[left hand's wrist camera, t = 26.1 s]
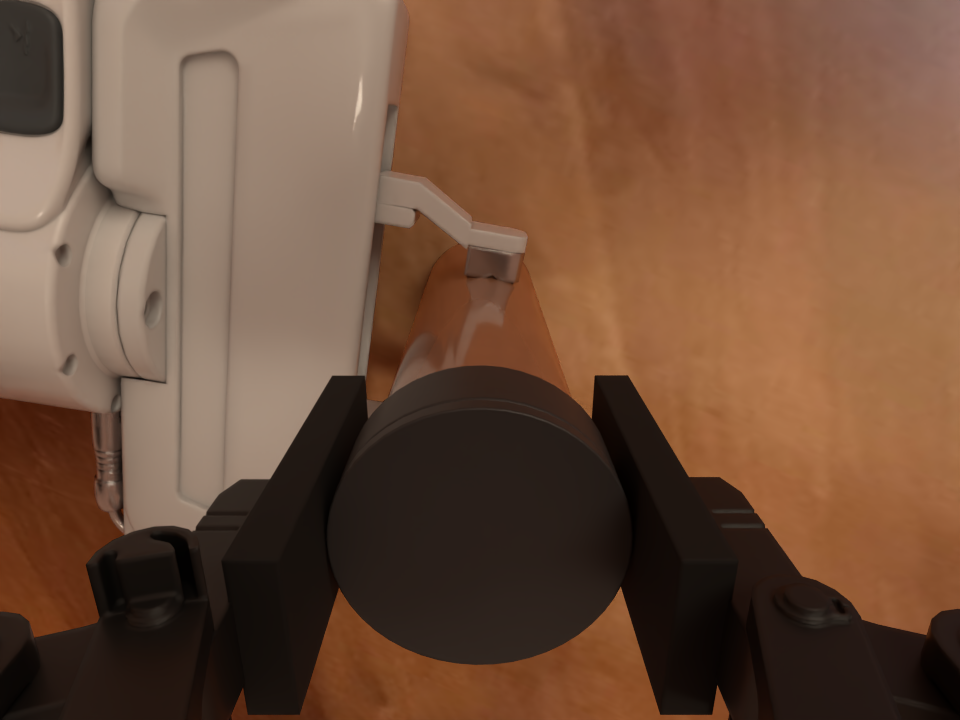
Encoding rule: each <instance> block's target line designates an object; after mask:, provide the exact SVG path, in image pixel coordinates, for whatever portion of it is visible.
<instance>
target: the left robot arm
mask: <svg viewBox="0 0 960 720" xmlns="http://www.w3.org/2000/svg"><path fill="white" fill-rule="evenodd" d="M367 420H368V410H367V395H366V381H365V376H332V377H331V378H330V380H329V382H328V383H327V385H326V387H325V388H324V390H323V392H322V393H321V395H320V397H319V398H318V400H317V402H316V403H315V405H314V407H313V408H312V410H311V412H310V413H309V415H308V417H307V418H306V420H305V422H304V423H303V425H302V427H301V428H300V430H299V432H298V433H297V435H296V437H295V438H294V440H293V442H292V443H291V445H290V447H289V448H288V450H287V452H286V453H285V455H284V457H283V458H282V460H281V462H280V463H279V465H278V467H277V468H276V470H275V472H274V473H273V475H272V477H271V478H270V479H240V480H239V481H237V482H236V483H234V484H233V485H232V486H230V487H229V488H227V489H226V490H224V491H223V492H221V493H220V494H219V495H218V496H217V498H216V499H215V500H214V502H213V503H212V505H211V506H210V507H209V509H208V510H207V512H206V516H203V517H202V519H201V520H200V521H199V523H198V524H197V526H196V530H195V531H192V532H191V531H190V530H189V529H186V528H182V527H178V526H154V527H149V528H145V529H141V530H137V531H133V532H131V533H128V534H126V535H124V536H121V537H119V538H117V539H114V540H112V541H111V542H110V543H108V544H107V545H105V546H104V547H102V548H101V549H100V550H98V551H97V552H96V553H95V554H94V555H93V556H92V558H91V559H90V560H89V561H88V563H87V564H86V568H87V571H88V575H89V579H90V583H91V587H92V590H93V594H94V598H95V602H96V605H97V609H98V613H99V617H100V618H99V620H98V622H97V623H95V624H91V625H88V626H84V627H80V628H76V629H71V630H67V631H63V632H58V633H54V634H49V635H45V636H40V637H36V638H34V636H33V632H32V629H31V626H30V623H29V621H28V620H26V619H25V618H24V617H23V616H21V615H20V614H16V613H9V612H0V720H232V718H231V714H232V712H233V709H234V707H235V705H236V702H237V700H238V697H239V695H240V693H241V690H242V688H243V689H244V695H245V701H246V707H247V712H248V715H300V712H301V709H302V705H303V702H304V699H305V696H306V692H307V689H308V686H309V683H310V679H311V676H312V673H313V670H314V666H315V663H316V660H317V657H318V653H319V650H320V647H321V644H322V640H323V637H324V634H325V631H326V628H327V624H328V621H329V618H330V615H331V611H332V608H333V605H334V602H335V598H336V595H337V592H338V589H339V586H338V584H337V581H336V579H335V577H334V575H333V571H332V568H331V565H330V561H329V557H328V550H327V543H326V536H327V520H328V515H329V509H330V506H331V503H332V500H333V497H334V494H335V491H336V489H337V486H338V484H339V482H340V479H341V476H342V474H343V471H344V469H345V466H346V464H347V461H348V459H349V456H350V454H351V451H352V448H353V446H354V443H355V441H356V439H357V437H358V435H359V433H360V431H361V429H362V427H363V425H364V424H365V423H366V421H367ZM592 420H593V422H594V424H595V425H596V427H597V428H598V430H599V432H600V434H601V436H602V438H603V441H604V443H605V445H606V448H607V450H608V453H609V455H610V458H611V460H612V463H613V465H614V468H615V470H616V473H617V475H618V478H619V480H620V483H621V485H622V488H623V490H624V493H625V495H626V498H627V501H628V504H629V508H630V512H631V516H632V526H633V546H632V554H631V558H630V563H629V567H628V570H627V572H626V575H625V578H624V580H623V583H622V585H621V589H622V592H623V595H624V598H625V602H626V605H627V608H628V611H629V614H630V618H631V621H632V624H633V627H634V631H635V634H636V637H637V640H638V644H639V647H640V650H641V653H642V657H643V660H644V663H645V666H646V670H647V673H648V676H649V679H650V683H651V686H652V689H653V692H654V696H655V699H656V702H657V705H658V709H659V712H660V715H712V712H713V707H714V701H715V695H716V689H717V685H718V687H719V690H720V692H721V694H722V697H723V699H724V701H725V704H726V706H727V708H728V711H729V718H728V720H960V609H954V610H947V611H941V612H940V613H939V614H937V615H936V616H935V617H934V618H932V620H931V623H930V626H929V629H928V632H927V635H923V634H918V633H914V632H909V631H905V630H900V629H896V628H891V627H887V626H882V625H878V624H875V623H871V622H868V621H864V620H862V619H861V616H860V615H859V614H858V612H857V611H856V609H855V608H854V606H853V605H852V603H851V602H850V601H849V600H847V599H846V598H845V597H844V596H842V595H841V594H840V593H839V592H837V591H836V590H835V589H832V588H830V587H828V586H826V585H824V584H822V583H820V582H818V581H816V580H813V579H809V578H806V577H802V576H801V574H800V573H799V572H798V570H797V569H796V567H795V566H794V565H793V563H792V562H791V560H790V559H789V558H788V556H787V555H786V553H785V552H784V551H783V549H782V548H781V547H780V545H779V544H778V542H777V541H776V540H775V538H774V537H773V535H772V534H771V533H770V531H769V530H768V528H765V524H764V523H763V521H762V520H761V519H760V517H759V516H758V515H757V513H754V509H753V508H752V506H751V505H750V503H749V502H748V501H747V499H746V498H745V496H744V495H743V494H742V492H740V491H739V490H737V489H736V488H734V487H733V486H732V485H730V484H729V483H727V482H726V481H724V480H723V479H721V478H720V477H688V475H687V473H686V472H685V470H684V468H683V467H682V465H681V463H680V462H679V460H678V458H677V457H676V455H675V453H674V452H673V450H672V448H671V447H670V445H669V443H668V442H667V440H666V438H665V437H664V435H663V433H662V432H661V430H660V428H659V427H658V425H657V423H656V422H655V420H654V418H653V417H652V415H651V413H650V412H649V410H648V408H647V407H646V405H645V403H644V402H643V400H642V398H641V397H640V395H639V393H638V392H637V390H636V388H635V387H634V385H633V383H632V382H631V380H630V378H629V377H628V376H595V381H594V396H593V410H592Z"/></svg>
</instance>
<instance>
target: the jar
mask: <svg viewBox="0 0 960 720" xmlns="http://www.w3.org/2000/svg"><path fill="white" fill-rule="evenodd" d="M467 250H468V247H467V249H466V248H464V247H463V246H462V245H461V244H457V245H455V246H453V247H451V248H450V249H448V250H447V251H446V252H445V253H444V254H442V255H441V256H440V258H439V259H438V260H437V261H436V263H435V265H434V266H433V268H432V270H431V272H430V275H429V278H428V281H427V284H426V287H425V290H424V293H423V296H422V299H421V302H420V304H419V307H418V310H417V313H416V316H415V319H414V322H413V325H412V328H411V331H410V334H409V337H408V340H407V342H406V345H405V348H404V351H403V354H402V357H401V360H400V363H399V366H398V369H397V372H396V375H395V378H394V380H393V383H392V386H391V389H390V392H389V395H388V397H390V396H391V395H392V394H393V393H395V392H396V391H397V390H399V389H400V388H402V387H404V386H405V385H407V384H409V383H410V382H412V381H414V380H416V379H419V378H421V377H423V376H426V375H428V374H431V373H434V372H438V371H441V370H445V369H449V368H455V367H462V366H479V365H486V366H497V367H505V368H510V369H514V370H519V371H522V372H525V373H528V374H531V375H534V376H537V377H539V378H541V379H543V380H545V381H547V382H549V383H551V384H553V385H555V386H556V387H557V388H559V389H560V390H562V391H563V392H565V393H566V394H568V395H569V396H570V397H571V394H570V391H569V388H568V385H567V383H566V380H565V377H564V374H563V371H562V368H561V365H560V362H559V359H558V356H557V353H556V350H555V348H554V345H553V342H552V339H551V336H550V333H549V330H548V327H547V324H546V321H545V318H544V315H543V313H542V310H541V307H540V304H539V301H538V298H537V295H536V292H535V289H534V286H533V283H532V280H531V278H530V275H529V272H528V270H527V268H526V266H525V264H524V263H523V264H522V268H521V273H520V277H519V282H517V283H507V282H502V281H499V280H497V279H496V278H495V277H494V276H493V275H492V276H490V277H487V278H478V277H472V276H467V275H464V272H465V263H466V257H467ZM571 398H572V397H571Z"/></svg>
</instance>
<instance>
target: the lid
mask: <svg viewBox="0 0 960 720" xmlns="http://www.w3.org/2000/svg"><path fill="white" fill-rule="evenodd" d="M326 543H327V550H328V557H329V561H330V565H331V568H332V571H333V575H334V577H335V579H336V581H337V584H338V586H339V588H340V590H341V592H342V593H343V595H344V596H345V598H346V599H347V601H348V602H349V604H350V605H351V607H352V608H353V609H354V610H355V611H356V612H357V613H358V615H359V616H360V617H361V618H362V619H363V620H364V621H365V622H366V623H368V624H369V625H370V626H371V627H372V628H373V629H374V630H376V631H377V632H378V633H380V634H381V635H383V636H384V637H386V638H387V639H388V640H390V641H392V642H394V643H396V644H398V645H399V646H401V647H403V648H405V649H408V650H410V651H412V652H415V653H417V654H420V655H423V656H426V657H430V658H433V659H437V660H441V661H447V662H452V663H459V664H473V665H483V664H499V663H507V662H514V661H518V660H522V659H526V658H530V657H533V656H536V655H539V654H542V653H545V652H547V651H550V650H552V649H554V648H556V647H558V646H560V645H562V644H564V643H566V642H567V641H569V640H571V639H572V638H574V637H575V636H577V635H578V634H580V633H581V632H582V631H584V630H585V629H586V628H587V627H589V626H590V625H591V624H592V623H593V622H594V621H595V620H596V619H597V618H598V617H599V616H600V615H601V614H602V613H603V612H604V611H605V609H606V608H607V607H608V606H609V604H610V603H611V602H612V600H613V599H614V597H615V596H616V594H617V592H618V590H619V588H620V587H621V585H622V583H623V580H624V578H625V575H626V572H627V570H628V567H629V563H630V558H631V554H632V546H633V526H632V516H631V512H630V508H629V504H628V501H627V498H626V495H625V493H624V490H623V488H622V485H621V483H620V480H619V478H618V475H617V473H616V470H615V468H614V465H613V463H612V460H611V458H610V455H609V453H608V450H607V448H606V445H605V443H604V441H603V438H602V436H601V434H600V432H599V430H598V428H597V427H596V425H595V424H594V422H593V420H592V419H591V418H590V416H589V415H588V414H587V413H586V412H585V410H584V409H583V408H582V407H581V406H580V405H579V404H578V403H577V402H576V401H575V400H573V399H572V398H571V397H570V396H569V395H568V394H566V393H565V392H563V391H562V390H560V389H559V388H557V387H556V386H555V385H553V384H551V383H549V382H547V381H545V380H543V379H541V378H539V377H537V376H534V375H531V374H528V373H525V372H522V371H519V370H514V369H510V368H505V367H497V366H486V365H479V366H462V367H455V368H449V369H445V370H441V371H438V372H434V373H431V374H428V375H426V376H423V377H421V378H419V379H416V380H414V381H412V382H410V383H409V384H407V385H405V386H404V387H402V388H400V389H399V390H397V391H396V392H395V393H393V394H392V395H391V396H390V397H388V398H387V399H386V400H384V402H383V403H382V404H381V405H380V406H379V407H378V408H377V409H376V410H375V411H374V412H373V413H372V414H371V416H370V417H369V419H368V420H367V421H366V423H365V424H364V425H363V427H362V429H361V431H360V433H359V435H358V437H357V439H356V441H355V443H354V446H353V448H352V451H351V454H350V456H349V459H348V461H347V464H346V466H345V469H344V471H343V474H342V476H341V479H340V482H339V484H338V486H337V489H336V491H335V494H334V497H333V500H332V503H331V506H330V509H329V515H328V520H327V536H326Z"/></svg>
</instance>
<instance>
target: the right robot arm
mask: <svg viewBox="0 0 960 720" xmlns="http://www.w3.org/2000/svg"><path fill="white" fill-rule="evenodd" d="M408 28H409V14H408V10H407V8H406V6H405V4H404V2H403V0H0V398H5V399H12V400H18V401H25V402H31V403H37V404H43V405H50V406H56V407H63V408H69V409H76V410H82V411H89V412H90V418H91V437H92V445H93V450H94V453H95V460H96V475H95V477H94V496H95V499H96V503H97V506H98V508H99V509H100V510H102V511H105V512H108V513H109V516H110V518H111V520H112V521H113V523H114V524H115V526H116V527H117V528H118V529H119V530H120V531H121V532H122V533H123V534H124V535H126V534H128V533H131V532H133V531H137V530H141V529H145V528H149V527H154V526H178V527H182V528H186V529H189V530H190V531H191V532H192V531H195V530H196V526H197V524H198V523H199V521H200V520H201V519H202V517H203V516H206V512H207V510H208V509H209V507H210V506H211V505H212V503H213V502H214V500H215V499H216V498H217V496H218V495H219V494H220V493H221V492H223V491H224V490H226V489H227V488H229V487H230V486H232V485H233V484H234V483H236V482H237V481H239V480H240V479H270V478H271V477H272V475H273V473H274V472H275V470H276V468H277V467H278V465H279V463H280V462H281V460H282V458H283V457H284V455H285V453H286V452H287V450H288V448H289V447H290V445H291V443H292V442H293V440H294V438H295V437H296V435H297V433H298V432H299V430H300V428H301V427H302V425H303V423H304V422H305V420H306V418H307V417H308V415H309V413H310V412H311V410H312V408H313V407H314V405H315V403H316V402H317V400H318V398H319V397H320V395H321V393H322V392H323V390H324V388H325V387H326V385H327V383H328V382H329V380H330V378H331V377H332V376H365V381H366V378H367V369H368V361H369V353H370V344H371V336H372V328H373V320H374V311H375V303H376V295H377V286H378V278H379V270H380V261H381V253H382V245H383V237H384V228H385V224H386V225H392V226H398V227H404V228H411V227H412V226H413V225H414V224H415V222H416V221H417V220H418V218H419V217H420V212H421V213H422V214H423V215H424V216H426V217H427V218H428V219H429V220H431V221H432V222H433V223H434V224H436V225H437V226H438V227H439V228H441V229H442V230H443V231H444V232H446V233H447V234H448V235H449V236H451V237H452V238H453V239H454V240H456V241H457V242H458V243H459V244H461V245H462V246H463V247H464V248H466V249H467V247H468V250H467V257H466V263H465V272H464V275H467V276H472V277H478V278H487V277H490V276H492V275H493V276H494V277H495V278H496V279H497V280H499V281H502V282H507V283H517V282H519V277H520V273H521V268H522V264H523V259H524V255H525V249H526V244H527V240H528V236H527V234H526V232H524V231H521V230H518V229H515V228H509V227H504V226H498V225H493V224H487V223H481V222H476V221H472V216H471V215H469V214H468V213H467V212H466V211H465V210H464V209H462V208H461V207H460V206H459V205H458V204H457V203H455V202H454V201H453V200H452V199H451V198H449V197H448V196H447V195H446V194H445V193H444V192H442V191H441V190H440V189H439V188H438V187H437V186H435V185H434V184H433V183H432V182H431V181H429V180H428V179H427V178H426V177H421V176H415V175H410V174H404V173H399V172H393V171H391V170H392V162H393V153H394V145H395V137H396V129H397V120H398V112H399V104H400V95H401V87H402V79H403V70H404V62H405V54H406V45H407V37H408ZM382 403H383V402H379V401H373V400H367V410H368V419H369V417H370V416H371V414H372V413H373V412H374V411H375V410H376V409H377V408H378V407H379V406H380V405H381V404H382ZM122 508H123V509H124V515H123V514H122V512H121V509H122Z"/></svg>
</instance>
